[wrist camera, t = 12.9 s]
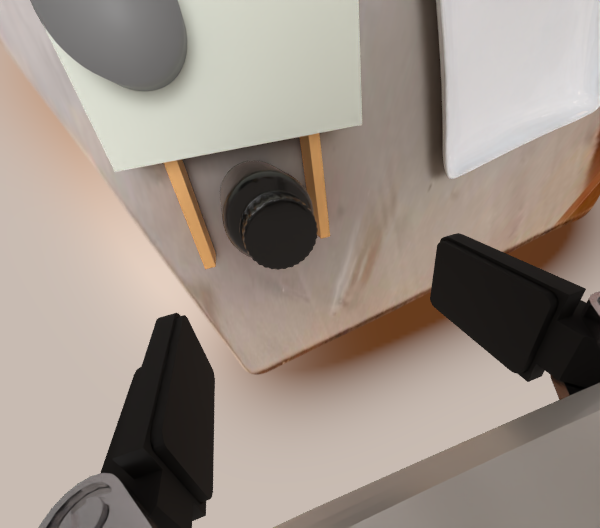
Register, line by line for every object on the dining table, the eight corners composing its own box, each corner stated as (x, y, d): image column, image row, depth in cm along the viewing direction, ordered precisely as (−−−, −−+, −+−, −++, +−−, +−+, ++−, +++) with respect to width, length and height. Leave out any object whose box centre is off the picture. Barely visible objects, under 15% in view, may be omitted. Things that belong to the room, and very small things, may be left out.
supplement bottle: (250, 239, 28) (269, 302, 18) (204, 188, 24) (195, 230, 14) (300, 201, 28) (349, 241, 17) (261, 143, 24) (294, 152, 14)
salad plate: (622, -165, 22) (686, -212, 19) (571, 110, 33) (605, 108, 30) (404, -80, 20) (435, -116, 17) (426, 178, 31) (448, 183, 28)
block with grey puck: (321, -16, 20) (385, -107, 13) (340, 222, 30) (382, 253, 22) (69, 5, 17) (-50, -97, 10) (182, 262, 27) (168, 314, 19)
